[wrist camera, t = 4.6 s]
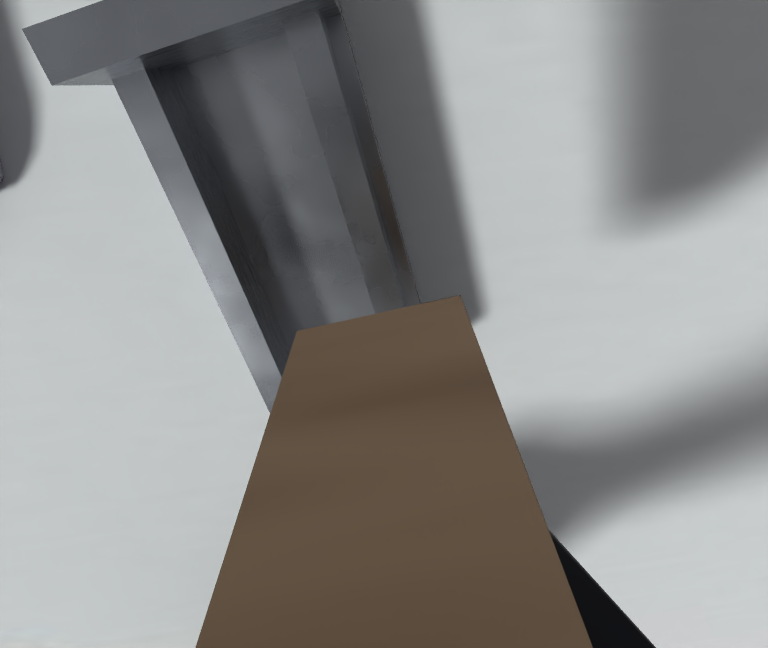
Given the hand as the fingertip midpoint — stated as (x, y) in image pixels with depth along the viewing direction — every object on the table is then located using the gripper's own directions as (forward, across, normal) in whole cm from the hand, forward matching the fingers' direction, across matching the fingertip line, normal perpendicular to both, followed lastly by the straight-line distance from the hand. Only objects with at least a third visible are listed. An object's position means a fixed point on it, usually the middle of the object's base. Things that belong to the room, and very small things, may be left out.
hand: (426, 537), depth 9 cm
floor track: (+12, +3, -4) cm, 13 cm away
